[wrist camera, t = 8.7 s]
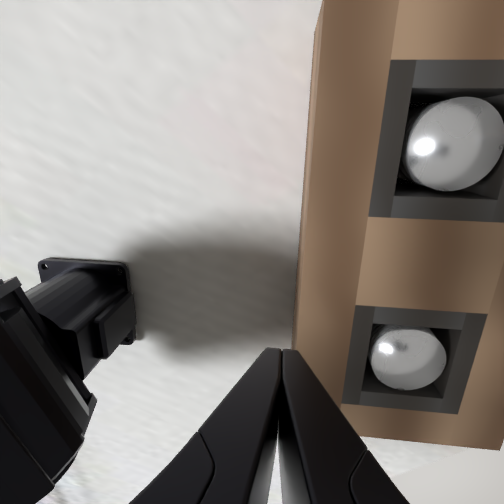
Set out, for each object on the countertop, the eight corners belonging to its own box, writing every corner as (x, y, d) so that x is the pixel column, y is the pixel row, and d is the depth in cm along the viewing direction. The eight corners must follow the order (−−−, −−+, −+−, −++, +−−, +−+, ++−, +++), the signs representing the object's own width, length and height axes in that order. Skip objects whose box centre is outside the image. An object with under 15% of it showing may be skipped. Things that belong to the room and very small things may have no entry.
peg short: (374, 178, 19) (401, 189, 14) (384, 107, 18) (417, 95, 13) (441, 180, 19) (491, 192, 14) (456, 108, 17) (516, 97, 13)
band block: (289, 372, 24) (290, 428, 19) (314, 32, 17) (325, -10, 12) (456, 387, 23) (499, 450, 18) (559, 31, 16) (673, -16, 11)
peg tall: (351, 337, 22) (367, 386, 18) (358, 288, 21) (377, 328, 17) (407, 341, 22) (438, 393, 18) (417, 292, 21) (453, 333, 16)
